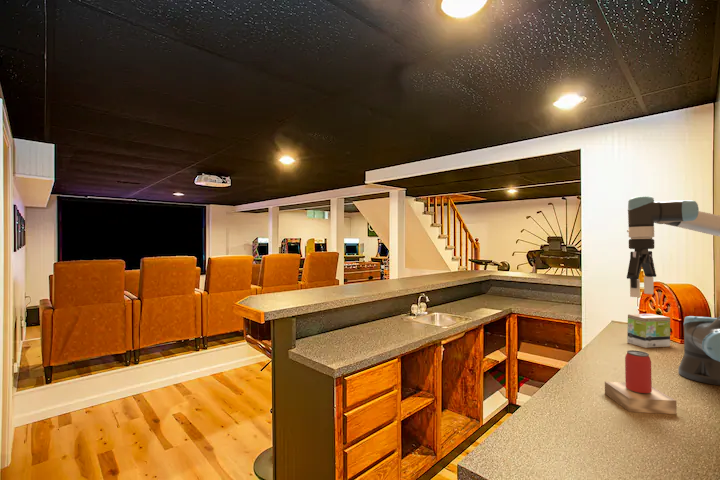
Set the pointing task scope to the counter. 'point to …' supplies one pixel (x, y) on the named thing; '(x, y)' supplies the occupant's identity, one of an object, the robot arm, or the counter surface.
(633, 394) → the maple base
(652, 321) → the tea box
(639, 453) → the counter surface
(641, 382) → the beer can
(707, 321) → the robot arm
